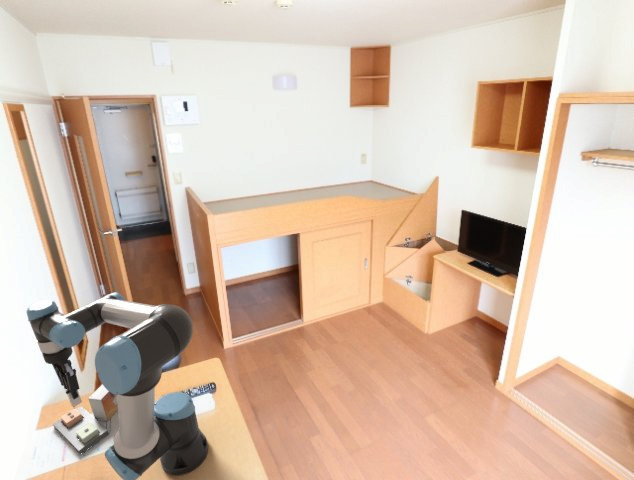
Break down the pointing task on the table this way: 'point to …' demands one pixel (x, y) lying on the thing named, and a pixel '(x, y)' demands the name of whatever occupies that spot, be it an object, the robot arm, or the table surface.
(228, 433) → the table surface
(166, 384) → the table surface
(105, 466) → the table surface
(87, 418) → the board
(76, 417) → the peach rectangular block
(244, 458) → the table surface
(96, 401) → the small box
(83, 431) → the pale green button
